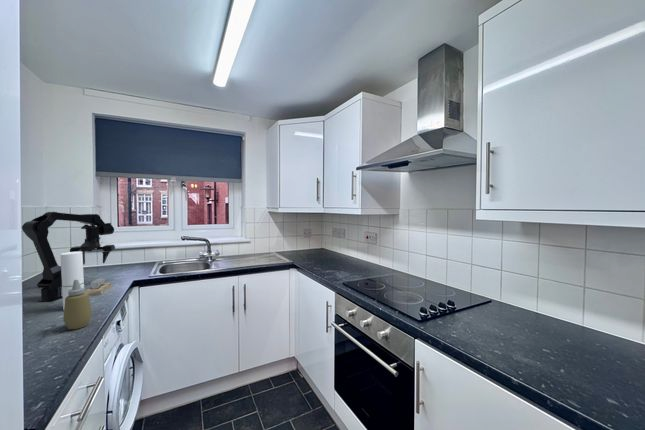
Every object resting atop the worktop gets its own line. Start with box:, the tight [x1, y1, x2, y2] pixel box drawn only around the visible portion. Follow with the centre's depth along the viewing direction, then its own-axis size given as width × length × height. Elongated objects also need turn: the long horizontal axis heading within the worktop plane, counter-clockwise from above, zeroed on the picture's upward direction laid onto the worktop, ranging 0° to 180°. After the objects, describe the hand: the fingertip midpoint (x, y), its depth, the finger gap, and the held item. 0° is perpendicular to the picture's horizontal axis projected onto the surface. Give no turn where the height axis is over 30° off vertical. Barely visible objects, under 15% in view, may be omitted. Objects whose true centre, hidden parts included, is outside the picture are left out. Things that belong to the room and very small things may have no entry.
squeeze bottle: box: [63, 280, 93, 330], centre depth 101 cm, size 8×8×18 cm
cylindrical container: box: [60, 251, 85, 311], centre depth 119 cm, size 7×7×25 cm
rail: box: [85, 281, 113, 297], centre depth 142 cm, size 14×7×2 cm, turn 19°
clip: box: [90, 277, 106, 289], centre depth 142 cm, size 8×3×6 cm, turn 19°
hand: (93, 263), depth 149 cm, fingers open, 9 cm apart
